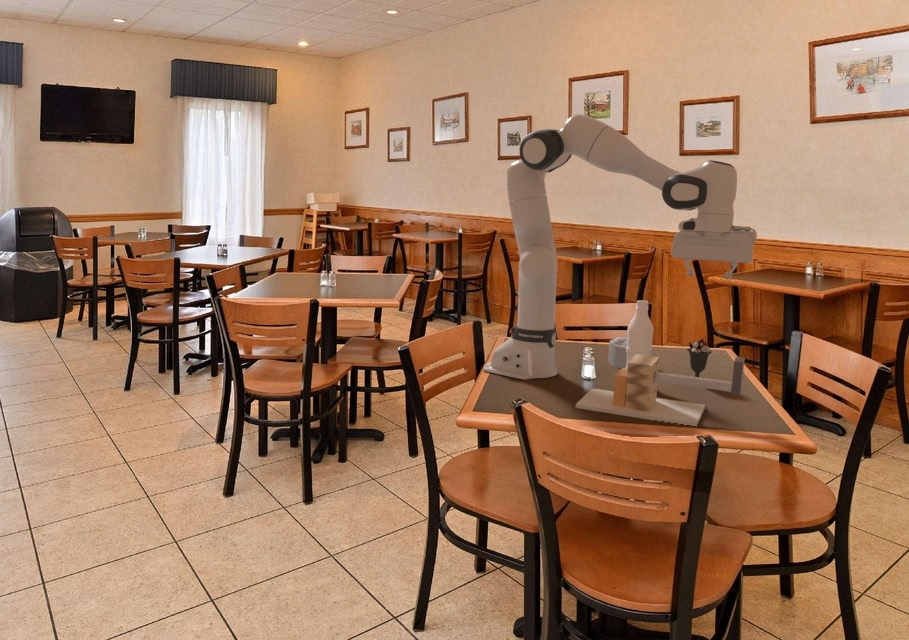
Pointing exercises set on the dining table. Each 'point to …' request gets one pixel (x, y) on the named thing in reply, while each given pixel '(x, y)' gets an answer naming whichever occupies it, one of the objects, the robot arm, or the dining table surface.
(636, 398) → the bearing block
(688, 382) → the shaft
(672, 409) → the base board
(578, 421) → the dining table surface
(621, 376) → the block
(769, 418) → the dining table surface
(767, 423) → the dining table surface
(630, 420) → the dining table surface
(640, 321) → the water bottle
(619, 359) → the lumpy-topped squat cylinder
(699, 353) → the sundae
